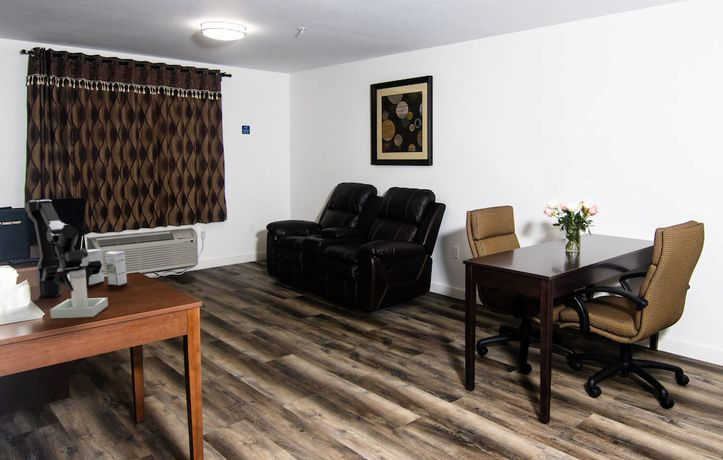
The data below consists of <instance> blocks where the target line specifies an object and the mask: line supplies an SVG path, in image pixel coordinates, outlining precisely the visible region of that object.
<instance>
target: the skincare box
mask: <svg viewBox="0 0 723 460" xmlns="http://www.w3.org/2000/svg"><path fill="white" fill-rule="evenodd" d="M86 250H87V252H88V256H87V257H85V258H83V259H82V264H80V266H87V265H88V262H89V261H95V260H99V261H101V263H102V267H101V270H100V273H99V274H95V275H91V277H89V286H91V285H95V284H98V283H102V282H105V274H104V260H103V259H104V258H103V249H99V248H98V249H94V248H93V249H86Z"/></svg>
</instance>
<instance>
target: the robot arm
mask: <svg viewBox="0 0 723 460" xmlns="http://www.w3.org/2000/svg"><path fill="white" fill-rule="evenodd" d="M53 205H54V204H53V200H51V199H49V198H48V199H38V200H37V199H36V200H32V199H31V200H28V201H27V203H25V205H24V209H25V212H26V213H27V217H28V218H29V219H30V220H31V221H32V222H33V223H34V229H35V232H36V233H35V234H36V235H35V236H36V238H37V246H38V250H39V256H40V258H39V261H38V263H37V268H36V272H35V275H34V279H35V282H36V283H37V284H39V292H40V294H39V295H38V298H40V299H41V298H56V297H58V296H60V295H61V294H63V292H62V286H64V287H65V288H66V289H68V290H69V291H70V292H71V291H73V288H72V285H71V283H70V278H69V272H70V271H74V270H86V286H87V290H88V289H89V288H90V287H89V286H90V285H89V277H91V275H95V274H99V273H100V270H101V267H102V263H101V261H99V260H95V261H89V262H88V265H87V266H80V264H82V259H83V258H85V257H87V256H88V252H87V250H88V249H87V248H86V247H84V248H80V249H76V250H75V248H74V246H76V245H77V242H78V237H79V235H80V231H79V230H78V229H77V228H76V227H75V226H71V224H69V223H67V224H66V223H64V222H62V221H61V220H60V218H59V216H58V214H57V211H56V210H55V208H54V206H53ZM52 244H55V246H54V249H55V254H57V257H56V256H55V255H54V249H53V245H52Z"/></svg>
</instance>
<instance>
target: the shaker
mask: <svg viewBox="0 0 723 460" xmlns="http://www.w3.org/2000/svg"><path fill="white" fill-rule="evenodd" d="M68 277H69V281H70V283H71V285H72V288H73V291H70V295H71V299H72V308H84V307H87V306H88V299H87V298H88V289H87V286H86V270H74V271H70V272H69V274H68Z"/></svg>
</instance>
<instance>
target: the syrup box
mask: <svg viewBox="0 0 723 460" xmlns="http://www.w3.org/2000/svg"><path fill="white" fill-rule="evenodd" d="M125 255H126V254H125V251H124V250H123V251H121V250H110V251H107V252H105V263H106V275H107V279H106V280H107V285H112V286H121V285H125V284H127V282H128V280H127V269H126V256H125Z"/></svg>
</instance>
